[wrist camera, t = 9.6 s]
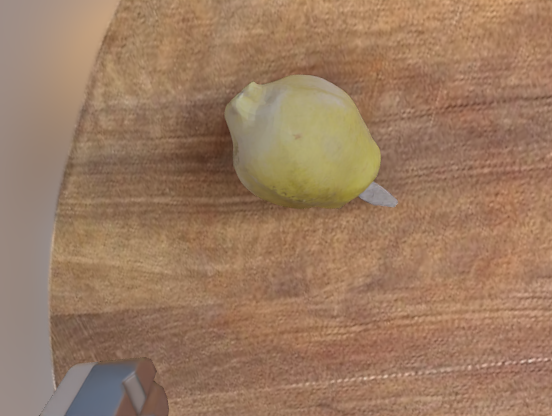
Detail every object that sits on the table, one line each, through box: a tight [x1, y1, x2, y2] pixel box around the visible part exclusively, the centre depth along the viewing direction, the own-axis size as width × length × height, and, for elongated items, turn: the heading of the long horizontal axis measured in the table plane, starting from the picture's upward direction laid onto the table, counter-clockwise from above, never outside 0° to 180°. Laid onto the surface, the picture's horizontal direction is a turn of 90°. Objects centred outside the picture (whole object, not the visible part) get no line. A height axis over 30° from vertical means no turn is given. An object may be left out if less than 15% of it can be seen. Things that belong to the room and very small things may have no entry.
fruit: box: [225, 75, 398, 209], centre depth 20 cm, size 6×6×10 cm
